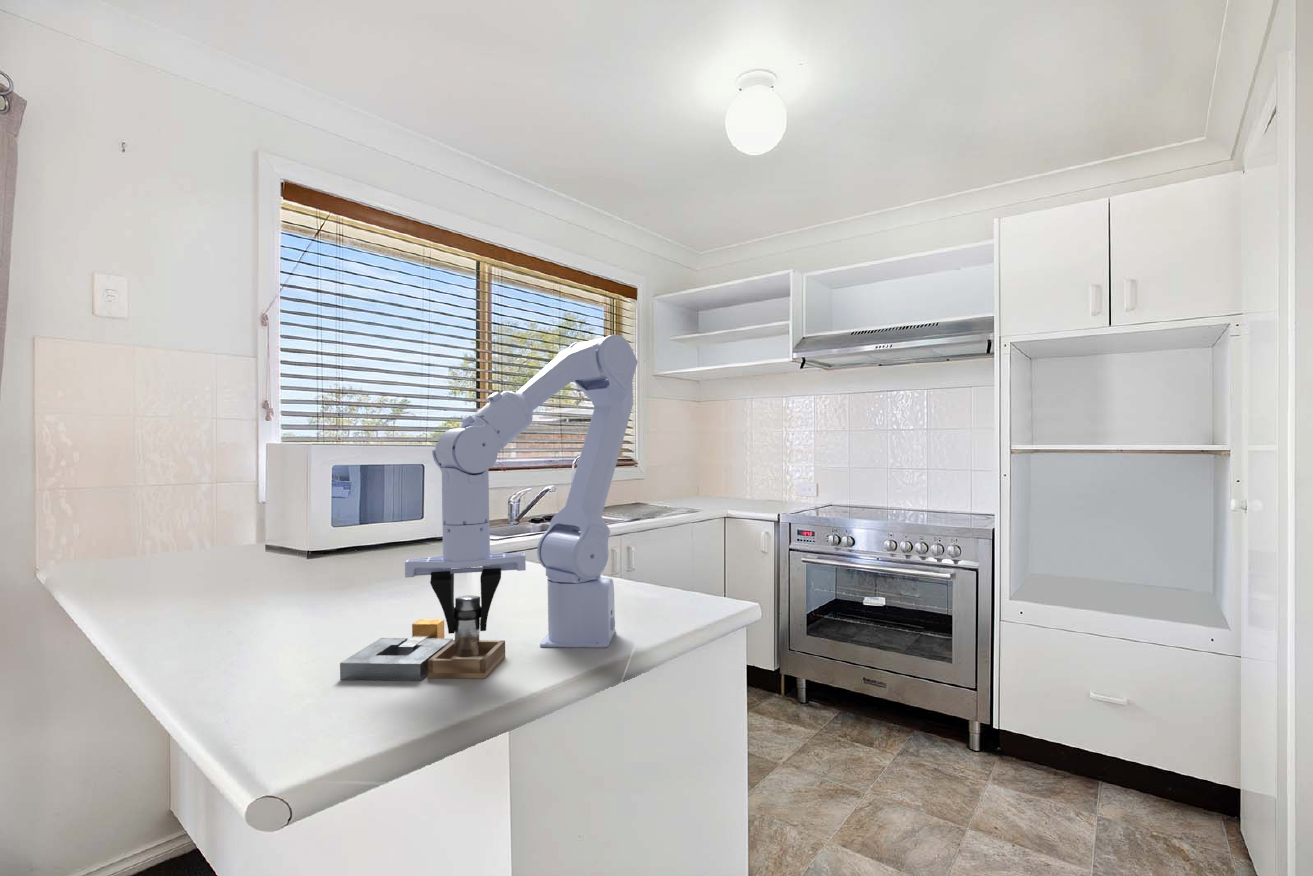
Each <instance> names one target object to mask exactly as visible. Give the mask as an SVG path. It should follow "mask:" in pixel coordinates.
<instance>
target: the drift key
mask: <svg viewBox="0 0 1313 876" xmlns="http://www.w3.org/2000/svg"><path fill="white" fill-rule="evenodd" d="M411 630H412V631H411V632H412V633H411V638H409V639H408V640H407V641H406V642H404V643H403V644H401V645H400V646H398V656H408V655H410V654H411V653H412V652H414V651H415V650H416V649H417V644H419V643H420V642H422V641H423V640H425V639H426V638H445V619H436V618H435V619H432V618H431V619H429V618H428V619H427V618H426V619H423V618H422V619H421V618H420V619H418V620H416V621H415V622H414V623H412V624H411Z"/></svg>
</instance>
